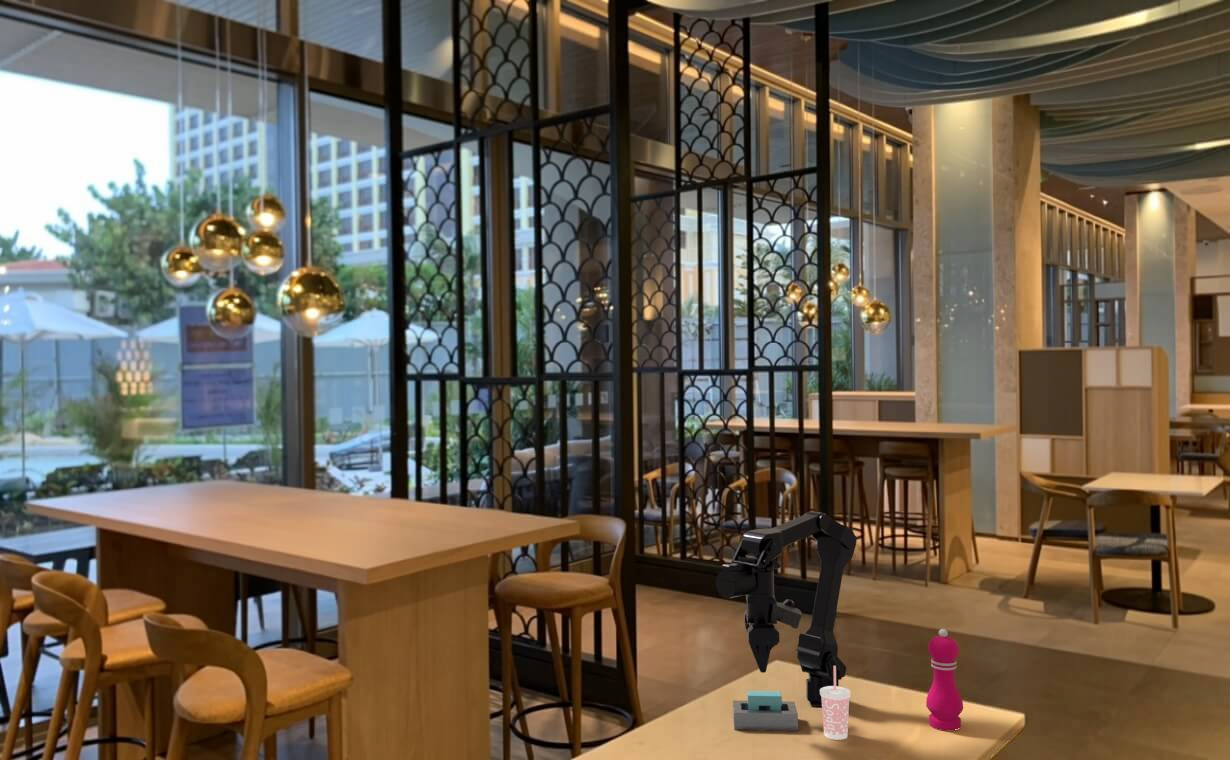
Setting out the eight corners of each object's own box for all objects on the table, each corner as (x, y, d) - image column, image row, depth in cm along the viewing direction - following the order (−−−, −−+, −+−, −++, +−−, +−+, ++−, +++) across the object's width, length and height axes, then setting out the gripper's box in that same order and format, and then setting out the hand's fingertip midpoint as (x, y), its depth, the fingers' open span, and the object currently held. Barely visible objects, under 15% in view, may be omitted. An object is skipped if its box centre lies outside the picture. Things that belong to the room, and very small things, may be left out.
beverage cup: (814, 734, 184) (812, 665, 185) (833, 727, 188) (832, 659, 188) (838, 743, 180) (837, 672, 180) (857, 736, 183) (856, 666, 183)
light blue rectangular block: (748, 722, 190) (747, 695, 190) (747, 716, 193) (747, 690, 193) (782, 722, 189) (781, 696, 189) (781, 717, 192) (780, 691, 192)
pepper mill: (964, 722, 190) (962, 626, 190) (962, 734, 183) (960, 634, 184) (928, 717, 193) (926, 623, 193) (924, 729, 186) (922, 631, 187)
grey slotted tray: (794, 718, 194) (794, 701, 194) (798, 730, 186) (797, 713, 187) (733, 716, 195) (732, 700, 195) (734, 729, 188) (734, 712, 188)
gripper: (804, 601, 182) (805, 680, 182) (794, 582, 200) (795, 653, 200) (748, 601, 183) (749, 679, 183) (743, 582, 201) (744, 652, 201)
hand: (761, 665), depth 192 cm, fingers open, 9 cm apart
